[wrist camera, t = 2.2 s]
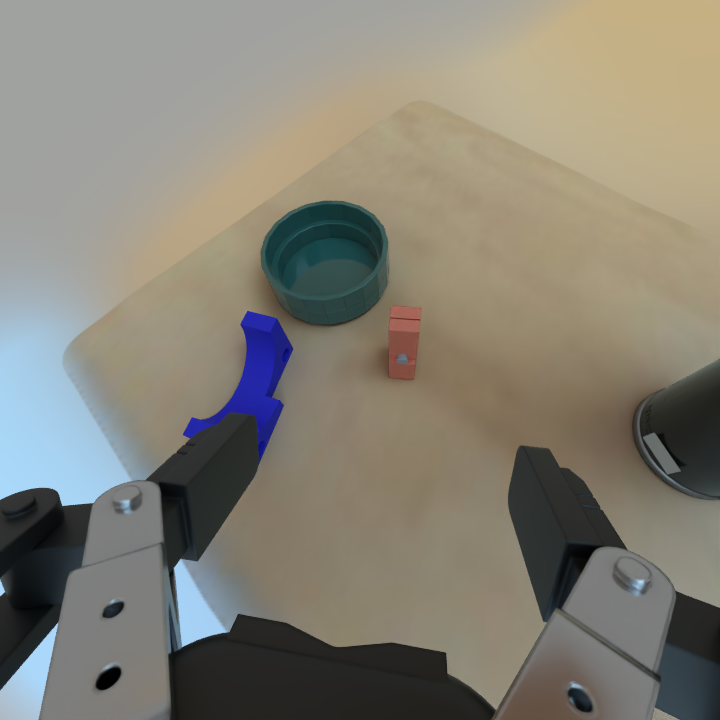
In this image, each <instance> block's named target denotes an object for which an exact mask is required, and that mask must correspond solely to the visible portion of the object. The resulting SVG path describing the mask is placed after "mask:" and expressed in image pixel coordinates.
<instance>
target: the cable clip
mask: <svg viewBox="0 0 720 720" xmlns="http://www.w3.org/2000/svg"><path fill="white" fill-rule="evenodd" d="M240 325H241V326H242V328H243V330H244V333H245V337H246V344H247V354H246V362H245V367H244V371H243V375H242V378H241V380H240V383H239V385H238V387H237V389H236V391H235V393H234V395H233V396H232V398H231V399H230V401H229V402H228V403H227V404H226V406H225V407H224V408H223V409H222V410H221V411H219V412H218V413H217V414H216V415H214V416H212V417H210V418H207V419H203V420H199V419H196V418H193V417H192V418H191V420H190V422H189V424H188V426H187V428H186V430H185V431H184V433H183V435H184V436H186V437H188V438H190V439H191V438H192V437H193V436H194V435H195V434H196V433H198V432H200V431H202V430H204V429H206V428H208V427H210V426H216V425H217V424H218V423H219V422H220V421H221V420H222V419H223V418H224V417H225V416H226V415H227V414H229V413H230V412H233V413H242V414H251V415H254V416H255V417H256V420H257V433H258V449H259V462H260V460H261V458H262V455H263V453H264V451H265V448H266V446H267V444H268V441H269V439H270V437H271V434H272V432H273V429H274V427H275V425H276V422H277V420H278V418H279V415H280V413H281V411H282V408H283V406H284V405H283V404H282V403H281V401H280V400H277V399H274V398H272V395H273V393H274V391H275V389H276V386H277V384H278V382H279V380H280V377H281V375H282V373H283V371H284V368H285V366H286V364H287V362H288V359H289V357H290V355H291V353H292V350H293V347H292V346H291V344H290V342H289V340H288V338H287V336H286V334H285V332H284V331H283V329H282V327H281V325H280V323H279V321H278V319H277V318H274V317H270V316H266V315H262V314H258V313H254V312H250V311H247V313H246V315H245V317H244V318H243V320H242V322H241V324H240ZM258 465H259V463H258Z"/></svg>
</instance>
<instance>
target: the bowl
mask: <svg viewBox="0 0 720 720" xmlns="http://www.w3.org/2000/svg"><path fill="white" fill-rule="evenodd" d="M388 257H389V255H388V239H387V236H386V232H385V229H384V227H383V225H382V224H381V223H380V222H379V220H378V219H377V218H376V216H375V215H374V214H372V213H371V212H369V211H367V210H366V209H364V208H363V207H361V206H359V205H355V204H351V203H348V202H344V201H320V202H315V203H310V204H307V205H304V206H301V207H299V208H297V209H295V210H292V211H290V212H289V213H287V214H286V215H285V216H283V217H282V218H281V219H280V220H278V221H277V222H276V223H275V224H274V225H273V227H272V228H271V229H270V231H269V232H268V234H267V235H266V237H265V239H264V242H263V246H262V249H261V263H262V269H263V271H264V273H265V275H266V277H267V279H268V281H269V283H270V285H271V287H272V289H273V291H274V293H275V295H276V297H277V299H278V301H279V303H280V304H281V306H282V307H283V308H284V309H285V310H286V311H288V312H289V313H290V314H291V315H292V316H293V317H295V318H298V319H301V320H303V321H306V322H308V323H314V324H328V325H329V324H330V325H331V324H336V323H341V322H346V321H350V320H352V319H354V318H355V317H357V316H359V315H361V314H363V313H365V312H367V311H368V310H369V309H370V308H371V307H372V306H373V305H374V304H375V303H376V302H377V301H378V300H379V299H380V297H381V295H382V293H383V292H384V290H385V288H386V286H387V281H388V273H389V258H388Z"/></svg>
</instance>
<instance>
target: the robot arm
mask: <svg viewBox="0 0 720 720" xmlns="http://www.w3.org/2000/svg"><path fill="white" fill-rule="evenodd" d="M633 433H634V438H635V442H636V445H637V447H638V450H639V452H640V454H641V456H642V457H643V459H644V460H645V462H646V463H647V464H648V466H649V467H650V468H651V469H652V470H653V471H654V472H655V473H656V474H657V475H658V476H659V477H660V478H661V479H662V480H663V481H665V482H666V483H668V484H669V485H670V486H672V487H674V488H675V489H677V490H679V491H681V492H683V493H686V494H688V495H691V496H694V497H697V498H701V499H707V500H720V359H718V360H716V361H714V362H713V363H711V364H709V365H707V366H705V367H704V368H702V369H700V370H698V371H696V372H695V373H693V374H691V375H689V376H687V377H686V378H684V379H682V380H680V381H678V382H676V383H675V384H673V385H671V386H669V387H668V388H665V389H662V390H660V391H658V392H656V393H654V394H652V395H651V396H649V397H647V398H646V399H645V400H644V401H643V402H642V403H641V404H640V406H639V407H638V409H637V411H636V413H635V416H634V421H633ZM258 463H259V449H258V433H257V420H256V417H255V416H254V415H251V414H242V413H233V412H230V413H229V414H227V415H226V416H225V417H224V418H223V419H222V420H221V421H220V422H219V423H218V424H217V425H216V426H210V427H208V428H206V429H204V430H202V431H200V432H198V433H196V434H195V435H194V436H193V437H192V438H191V439H190V440H189V441H188V442H186V445H183V446H182V447H181V448H180V449H179V450H178V451H177V453H176V454H175V453H174V454H173V455H172V456H171V457H170V458H169V459H168V460H167V461H166V462H165V463H164V464H163V465H161V466H160V467H159V468H158V469H157V470H156V471H155V472H154V473H153V474H152V475H151V476H149V477H148V478H147V479H146V480H138V481H131V482H127V483H123V484H120V485H118V486H115V487H113V488H111V489H110V490H108V491H106V492H105V493H103V494H102V495H101V496H99V497H98V498H97V499H96V501H95V502H94V503H92V504H91V503H90V504H80V505H69V506H62V504H61V501H60V497H59V494H58V492H57V491H55V490H53V489H50V488H35V489H29V490H25V491H22V492H18V493H15V494H13V495H10V496H8V497H5V498H4V499H1V500H0V580H1V582H2V585H3V587H4V590H5V593H4V594H3V595H2V596H0V690H1V689H2V688H3V686H4V685H5V684H6V683H7V682H8V680H9V679H10V678H11V677H12V675H14V674H15V672H16V671H17V670H18V669H19V668H20V666H21V665H22V664H23V663H24V662H25V661H26V659H27V658H28V657H29V656H30V655H31V654H32V652H33V651H34V650H35V649H36V648H37V646H38V645H39V644H40V643H41V642H42V641H43V639H44V638H45V637H46V636H47V635H48V634H49V632H50V631H51V630H52V629H53V628H54V627H55V625H56V624H57V623H58V622H59V623H58V628H57V632H56V637H55V643H54V647H53V652H52V657H51V662H50V667H49V672H48V677H47V681H46V687H45V691H44V696H43V701H42V706H41V711H40V716H39V720H652V716H653V712H654V708H657V709H659V710H661V711H663V712H666V713H668V714H670V715H672V716H674V717H676V718H678V719H680V720H720V608H718V607H716V606H713V605H710V604H708V603H705V602H702V601H700V600H697V599H694V598H692V597H689V596H686V595H684V594H682V593H679V592H677V591H675V589H674V586H673V584H672V583H671V581H670V580H669V579H668V577H667V576H666V575H665V574H664V573H663V572H662V571H661V570H660V569H659V568H658V567H656V566H655V565H654V564H653V563H651V562H650V561H648V560H647V559H645V558H643V557H641V556H640V555H638V554H635V553H633V552H631V551H628V550H627V548H626V547H625V545H624V543H623V542H622V540H621V539H620V537H619V536H618V534H617V532H616V531H615V529H614V528H613V526H612V525H611V523H610V521H609V520H608V518H607V517H606V515H605V514H604V512H603V510H600V506H599V504H598V503H597V501H596V499H595V498H593V495H592V493H591V492H590V490H589V489H588V487H587V485H586V484H585V482H584V481H583V480H582V479H580V478H579V477H578V476H577V475H576V474H574V473H573V472H572V471H571V470H570V469H568V468H560V467H559V465H558V463H557V462H556V460H555V458H554V456H553V455H552V453H551V451H550V450H549V449H547V448H539V447H530V446H519V448H518V450H517V454H516V458H515V463H514V468H513V473H512V477H511V482H510V487H509V493H508V505H509V512H510V515H511V518H512V522H513V525H514V528H515V531H516V535H517V538H518V541H519V544H520V548H521V551H522V554H523V557H524V561H525V564H526V567H527V570H528V574H529V577H530V580H531V583H532V587H533V590H534V593H535V596H536V600H537V603H538V606H539V609H540V613H541V616H542V619H543V622H547V624H546V625H545V627H544V629H543V631H542V632H541V634H540V636H539V638H538V639H537V641H536V643H535V644H534V646H533V648H532V650H531V651H530V653H529V655H528V657H527V658H526V660H525V662H524V663H523V665H522V667H521V669H520V670H519V672H518V674H517V676H516V677H515V679H514V681H513V683H512V684H511V686H510V688H509V689H508V691H507V693H506V695H505V696H504V698H503V700H502V702H501V703H500V705H499V707H498V709H497V710H495V709H494V708H493V707H492V706H491V705H490V704H489V703H488V702H487V701H486V700H485V699H484V698H483V697H482V696H481V695H479V694H478V693H477V692H476V691H474V690H473V689H472V688H471V687H469V686H468V685H466V684H465V683H463V682H462V681H460V680H459V679H457V678H455V677H453V676H451V675H449V674H447V660H446V653H445V652H440V651H434V650H429V649H423V648H418V647H413V646H407V645H402V644H397V643H383V644H371V645H360V646H349V647H334V646H331V645H329V644H327V643H325V642H323V641H321V640H319V639H317V638H315V637H313V636H311V635H309V634H307V633H305V632H303V631H301V630H299V629H297V628H295V627H293V626H291V625H289V624H287V623H284V622H278V621H273V620H268V619H262V618H257V617H252V616H246V615H241V614H238V615H237V617H236V620H235V622H234V624H233V626H232V628H231V630H230V632H228V633H221V634H217V635H212V636H209V637H206V638H203V639H200V640H197V641H195V642H193V643H190V644H188V645H186V646H184V647H182V644H181V635H180V624H179V612H178V601H177V591H176V580H175V572H174V567H175V566H176V564H177V563H178V561H179V560H180V559H186V560H192V561H198V560H199V559H200V557H201V556H202V554H203V553H204V551H205V550H206V548H207V547H208V545H209V544H210V542H211V541H212V539H213V538H214V536H215V535H216V533H217V532H218V530H219V529H220V527H221V526H222V524H223V523H224V521H225V520H226V518H227V517H228V515H229V514H230V512H231V511H232V509H233V508H234V506H235V505H236V503H237V502H238V500H239V499H240V497H241V496H242V494H243V493H244V491H245V490H246V488H247V487H248V485H249V484H250V482H251V481H252V479H253V478H254V476H255V474H256V472H257V468H258Z"/></svg>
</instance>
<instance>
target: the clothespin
mask: <svg viewBox="0 0 720 720" xmlns="http://www.w3.org/2000/svg"><path fill="white" fill-rule="evenodd" d="M420 316H421V308H418V307H403V306H391V312H390V321H389V330H388V331H389V377H390V378H400V379H411V380H414V374H415V365H416V355H417V347H418V338H419V329H420Z"/></svg>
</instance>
